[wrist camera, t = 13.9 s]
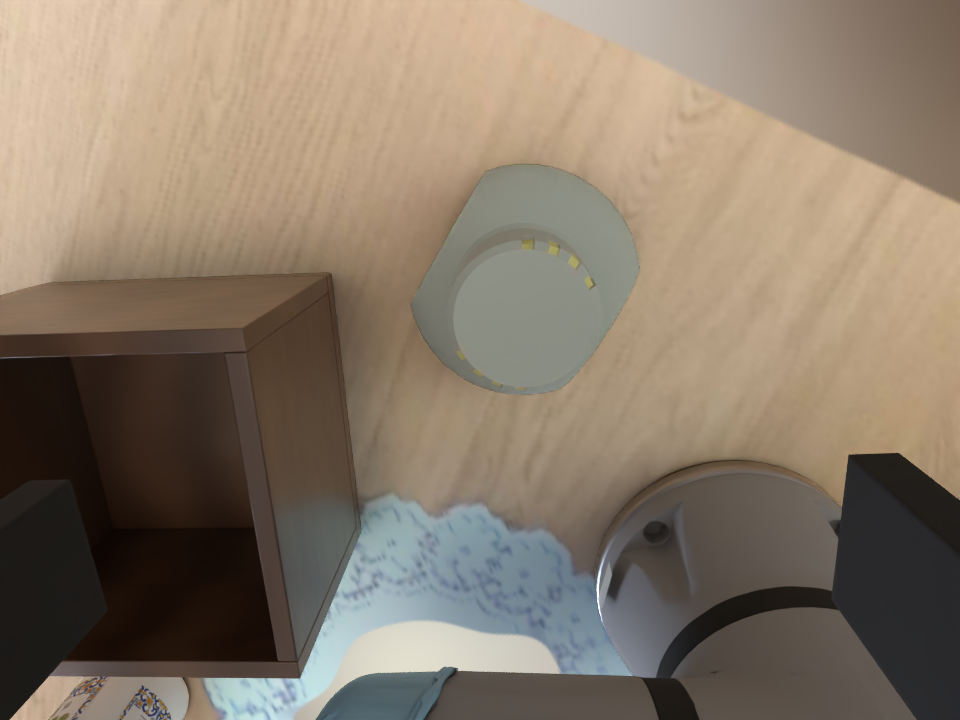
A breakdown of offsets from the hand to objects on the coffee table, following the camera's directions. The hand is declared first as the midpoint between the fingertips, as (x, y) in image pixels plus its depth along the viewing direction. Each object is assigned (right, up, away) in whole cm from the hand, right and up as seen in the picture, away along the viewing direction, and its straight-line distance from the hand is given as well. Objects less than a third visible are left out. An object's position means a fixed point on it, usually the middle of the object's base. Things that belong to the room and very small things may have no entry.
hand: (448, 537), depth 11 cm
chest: (-15, 0, +26) cm, 30 cm away
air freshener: (+3, +8, +22) cm, 24 cm away
